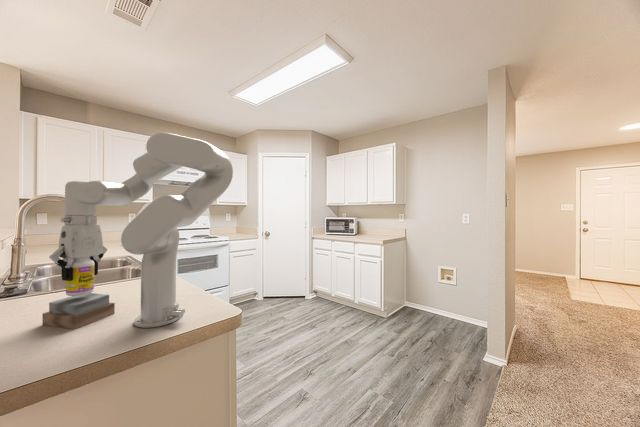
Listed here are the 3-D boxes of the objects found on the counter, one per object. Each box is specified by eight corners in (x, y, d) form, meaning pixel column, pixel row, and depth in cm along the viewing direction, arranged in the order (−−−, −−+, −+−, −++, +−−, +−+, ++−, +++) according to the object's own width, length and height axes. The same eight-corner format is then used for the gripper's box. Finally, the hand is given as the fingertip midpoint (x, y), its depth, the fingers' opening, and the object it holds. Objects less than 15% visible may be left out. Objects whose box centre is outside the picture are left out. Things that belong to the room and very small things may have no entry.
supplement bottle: (77, 297, 79) (77, 255, 79) (59, 295, 80) (60, 253, 80) (99, 291, 86) (100, 251, 85) (83, 289, 87) (83, 250, 87)
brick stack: (114, 313, 88) (114, 294, 88) (74, 329, 76) (74, 306, 76) (85, 310, 90) (85, 291, 90) (42, 325, 78) (42, 303, 78)
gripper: (58, 222, 73) (57, 285, 74) (117, 220, 91) (116, 272, 91) (37, 221, 75) (37, 283, 75) (99, 219, 92) (98, 270, 92)
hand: (80, 276), depth 83 cm, fingers closed on supplement bottle, 6 cm apart
